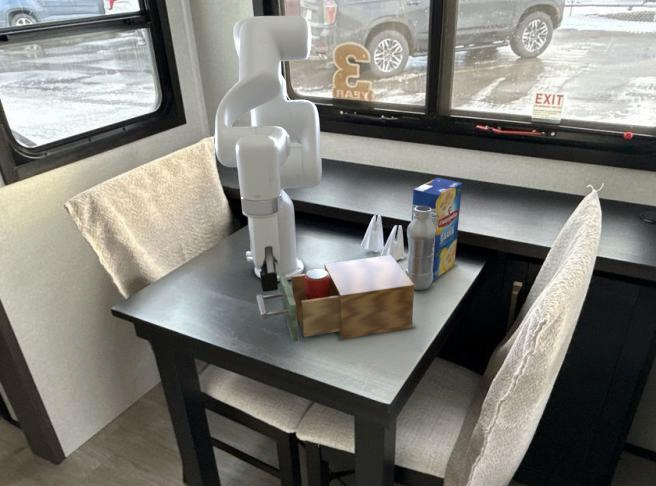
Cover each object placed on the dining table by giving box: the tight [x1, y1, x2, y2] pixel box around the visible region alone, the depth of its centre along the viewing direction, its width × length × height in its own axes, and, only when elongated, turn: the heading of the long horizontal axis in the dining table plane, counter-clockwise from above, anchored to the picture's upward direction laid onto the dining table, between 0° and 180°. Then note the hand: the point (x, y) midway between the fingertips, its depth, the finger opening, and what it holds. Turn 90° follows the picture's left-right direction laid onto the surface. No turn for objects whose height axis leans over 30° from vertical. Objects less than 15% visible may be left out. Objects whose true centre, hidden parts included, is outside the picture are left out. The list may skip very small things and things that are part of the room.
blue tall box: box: [411, 177, 463, 281], centre depth 135 cm, size 7×11×22 cm, turn 140°
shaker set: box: [360, 214, 405, 262], centre depth 146 cm, size 12×4×11 cm, turn 51°
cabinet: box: [323, 255, 415, 340], centre depth 120 cm, size 16×15×11 cm
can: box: [304, 268, 330, 300], centre depth 116 cm, size 5×5×10 cm
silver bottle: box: [405, 206, 436, 291], centre depth 128 cm, size 6×7×20 cm
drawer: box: [255, 273, 341, 343], centre depth 117 cm, size 20×13×9 cm, turn 104°
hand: (269, 289), depth 113 cm, fingers closed
